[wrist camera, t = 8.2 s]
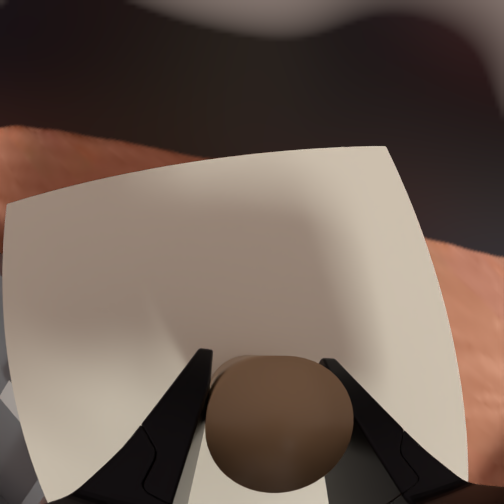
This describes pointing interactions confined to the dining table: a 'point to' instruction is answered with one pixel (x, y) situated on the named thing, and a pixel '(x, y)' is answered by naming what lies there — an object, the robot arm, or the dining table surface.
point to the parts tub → (13, 437)
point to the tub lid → (228, 318)
